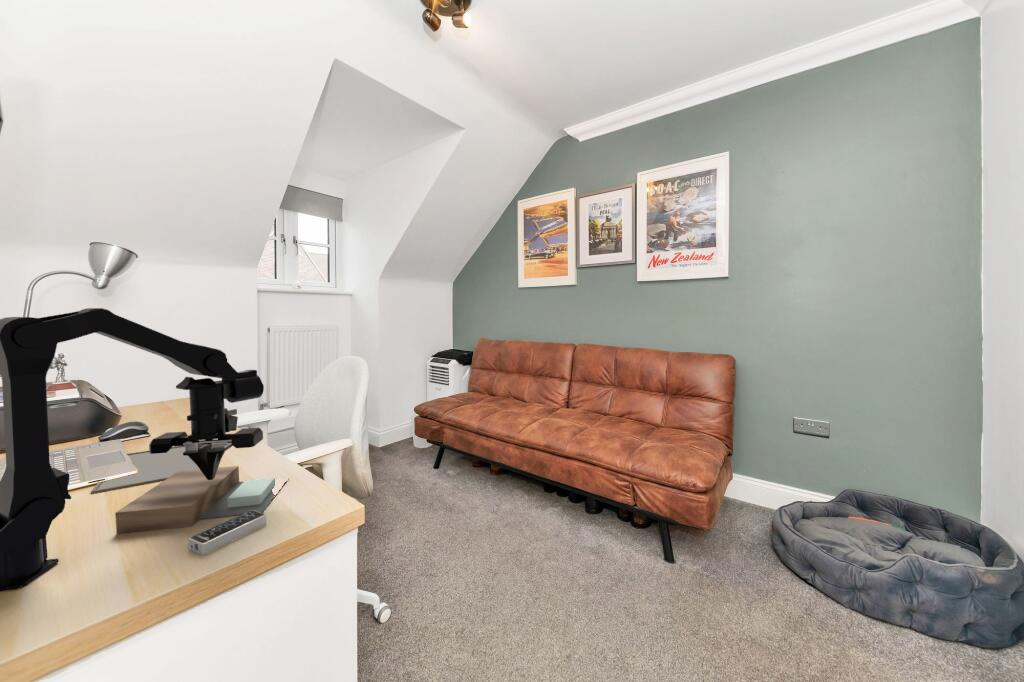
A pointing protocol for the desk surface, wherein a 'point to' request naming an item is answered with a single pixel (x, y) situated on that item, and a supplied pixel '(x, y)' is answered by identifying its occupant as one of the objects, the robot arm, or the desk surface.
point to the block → (251, 492)
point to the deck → (176, 501)
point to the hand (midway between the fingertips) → (211, 479)
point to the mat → (223, 511)
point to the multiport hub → (226, 532)
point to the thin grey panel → (150, 469)
